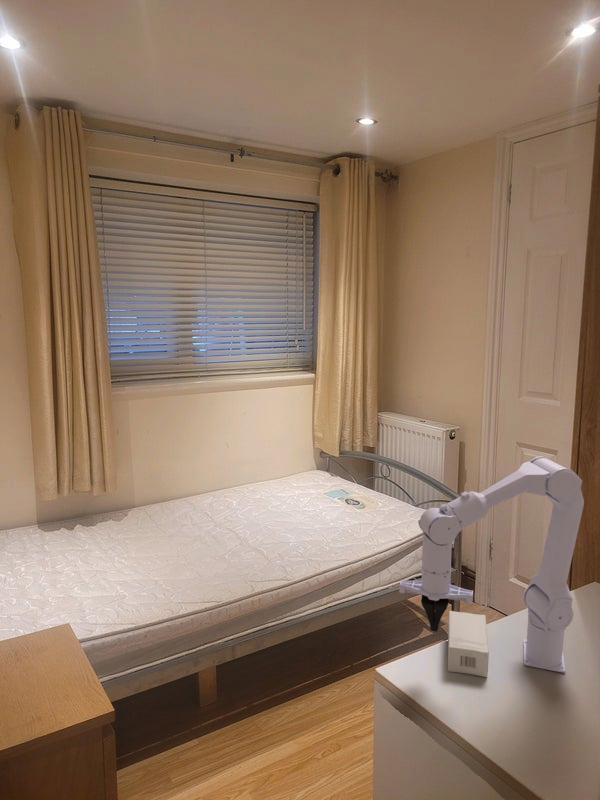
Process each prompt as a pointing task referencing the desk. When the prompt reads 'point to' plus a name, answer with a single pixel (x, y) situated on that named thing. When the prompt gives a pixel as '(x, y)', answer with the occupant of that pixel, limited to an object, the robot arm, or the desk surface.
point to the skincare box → (468, 644)
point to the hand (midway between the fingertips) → (434, 628)
